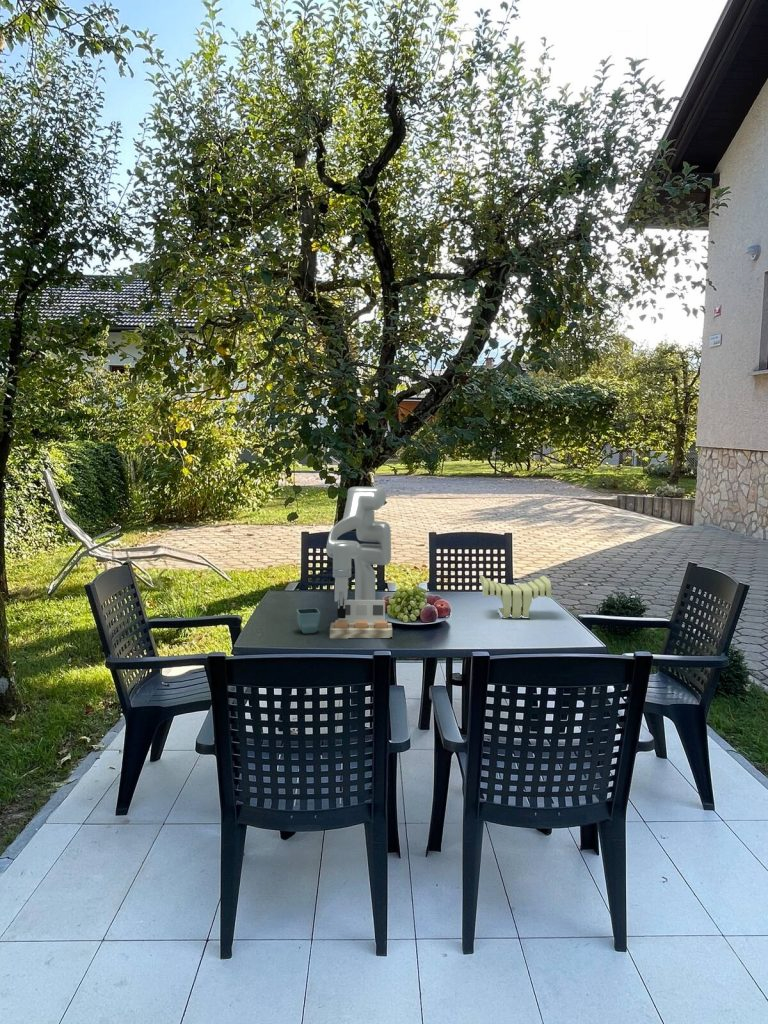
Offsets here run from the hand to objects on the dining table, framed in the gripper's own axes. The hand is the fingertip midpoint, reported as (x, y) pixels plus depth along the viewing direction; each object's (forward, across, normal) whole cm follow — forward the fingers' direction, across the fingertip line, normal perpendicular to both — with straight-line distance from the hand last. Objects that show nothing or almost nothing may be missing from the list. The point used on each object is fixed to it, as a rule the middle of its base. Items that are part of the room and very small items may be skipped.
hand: (341, 617), depth 294 cm
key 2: (+5, 0, +16) cm, 17 cm away
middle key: (+5, 0, +8) cm, 10 cm away
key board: (+7, 0, +8) cm, 11 cm away
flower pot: (+7, -4, -14) cm, 16 cm away
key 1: (+5, 0, 0) cm, 5 cm away
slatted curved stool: (+7, -36, +78) cm, 86 cm away
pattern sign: (+7, -15, +8) cm, 19 cm away
